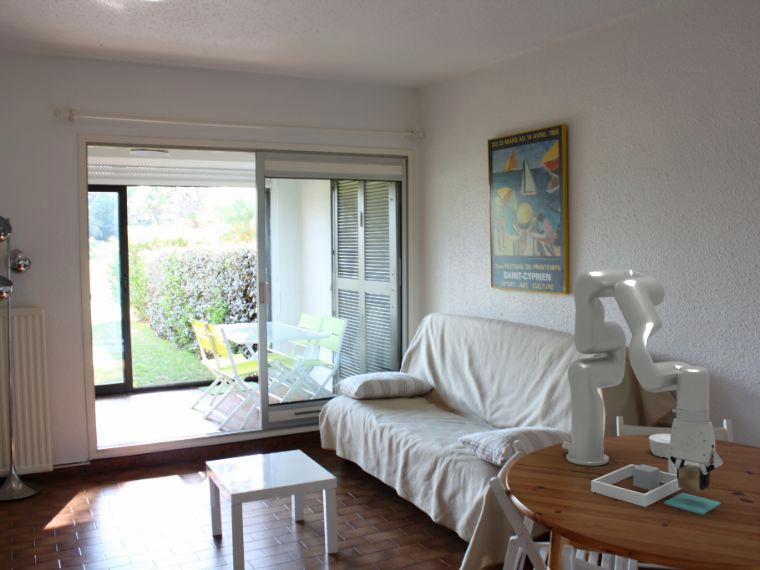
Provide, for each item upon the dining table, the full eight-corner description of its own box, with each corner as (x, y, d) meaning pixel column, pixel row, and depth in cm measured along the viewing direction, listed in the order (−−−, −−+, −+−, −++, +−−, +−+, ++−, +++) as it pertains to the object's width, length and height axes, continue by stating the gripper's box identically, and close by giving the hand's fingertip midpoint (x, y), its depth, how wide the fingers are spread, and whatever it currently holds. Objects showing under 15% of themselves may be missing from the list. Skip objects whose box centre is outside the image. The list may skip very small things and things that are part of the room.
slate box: (633, 486, 197) (633, 468, 197) (642, 481, 200) (642, 464, 200) (650, 490, 193) (650, 472, 193) (659, 486, 197) (659, 468, 196)
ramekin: (643, 455, 224) (643, 439, 224) (656, 447, 233) (656, 431, 232) (680, 462, 217) (680, 445, 217) (691, 453, 225) (692, 437, 225)
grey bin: (591, 491, 193) (591, 480, 193) (631, 474, 206) (631, 464, 206) (645, 507, 181) (645, 495, 181) (684, 487, 195) (684, 476, 194)
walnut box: (678, 487, 182) (678, 468, 182) (687, 483, 186) (687, 464, 185) (698, 492, 179) (698, 472, 178) (707, 487, 182) (707, 468, 182)
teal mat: (663, 504, 183) (663, 502, 183) (682, 494, 190) (682, 492, 190) (702, 514, 175) (702, 512, 175) (720, 504, 182) (720, 502, 182)
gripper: (653, 412, 185) (653, 481, 186) (720, 423, 172) (720, 497, 173) (668, 407, 190) (668, 475, 191) (733, 418, 177) (733, 490, 178)
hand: (692, 485), depth 182 cm, fingers closed on walnut box, 5 cm apart
